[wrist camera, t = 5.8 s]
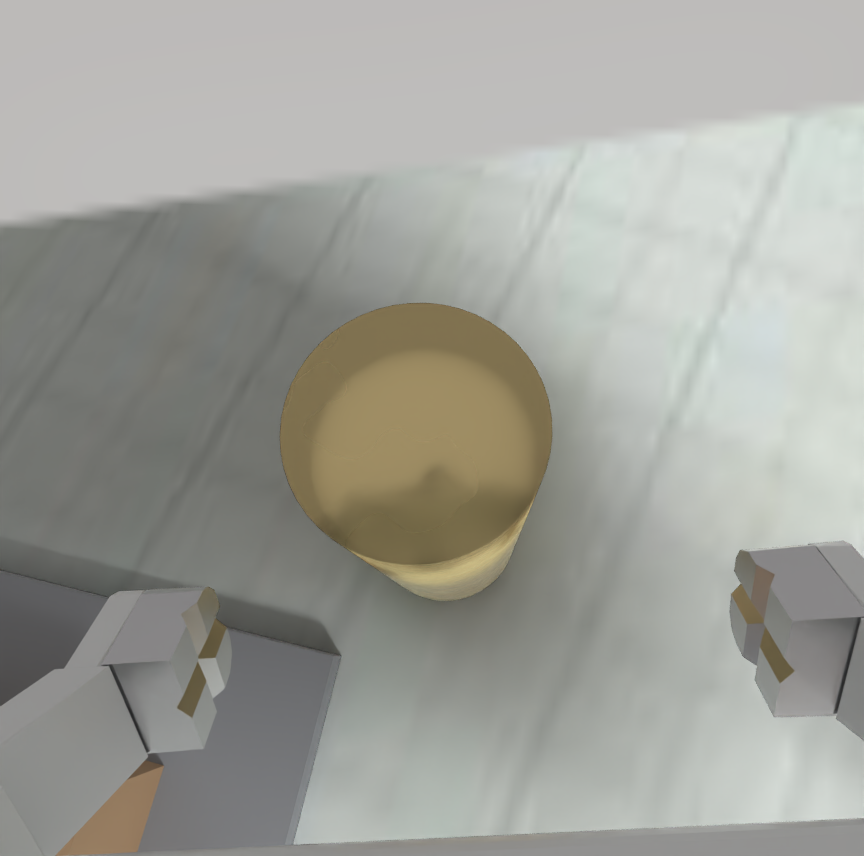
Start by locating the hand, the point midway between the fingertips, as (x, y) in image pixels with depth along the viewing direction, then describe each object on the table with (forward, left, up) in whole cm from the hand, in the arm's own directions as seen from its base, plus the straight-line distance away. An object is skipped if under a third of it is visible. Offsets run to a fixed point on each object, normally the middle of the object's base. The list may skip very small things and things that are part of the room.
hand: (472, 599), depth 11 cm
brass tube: (+1, -2, -8) cm, 9 cm away
